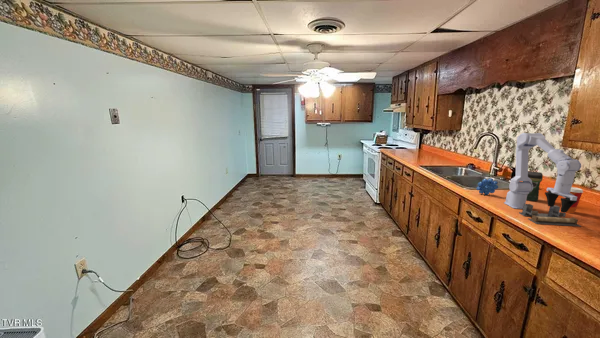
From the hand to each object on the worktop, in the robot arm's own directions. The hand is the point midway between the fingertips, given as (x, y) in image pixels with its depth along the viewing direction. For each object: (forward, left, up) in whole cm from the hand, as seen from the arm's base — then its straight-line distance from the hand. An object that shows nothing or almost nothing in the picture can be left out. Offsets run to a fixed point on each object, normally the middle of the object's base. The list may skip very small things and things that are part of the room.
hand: (556, 209), depth 125 cm
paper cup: (-18, +21, -8) cm, 29 cm away
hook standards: (-7, 0, -7) cm, 11 cm away
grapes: (-44, -8, -8) cm, 45 cm away
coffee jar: (-38, +14, -8) cm, 41 cm away
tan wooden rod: (0, 0, -7) cm, 7 cm away
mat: (0, 0, -8) cm, 8 cm away
